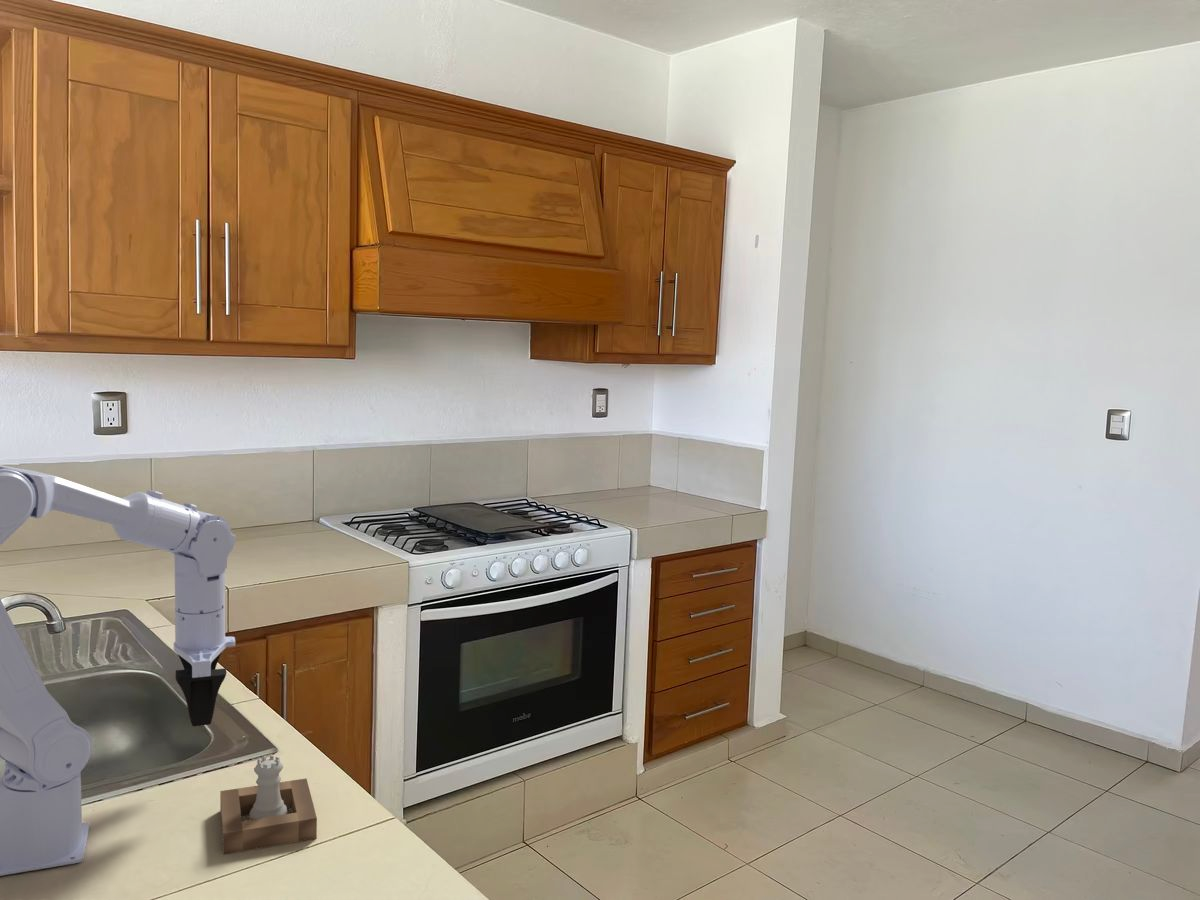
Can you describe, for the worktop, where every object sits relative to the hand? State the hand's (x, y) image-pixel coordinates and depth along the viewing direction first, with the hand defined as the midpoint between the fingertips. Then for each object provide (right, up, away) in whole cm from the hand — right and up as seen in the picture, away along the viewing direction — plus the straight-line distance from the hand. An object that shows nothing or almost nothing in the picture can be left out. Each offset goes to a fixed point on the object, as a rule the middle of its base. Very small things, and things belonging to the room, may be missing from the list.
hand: (201, 712), depth 116 cm
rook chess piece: (+11, -12, -7) cm, 17 cm away
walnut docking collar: (+11, -11, -7) cm, 17 cm away
